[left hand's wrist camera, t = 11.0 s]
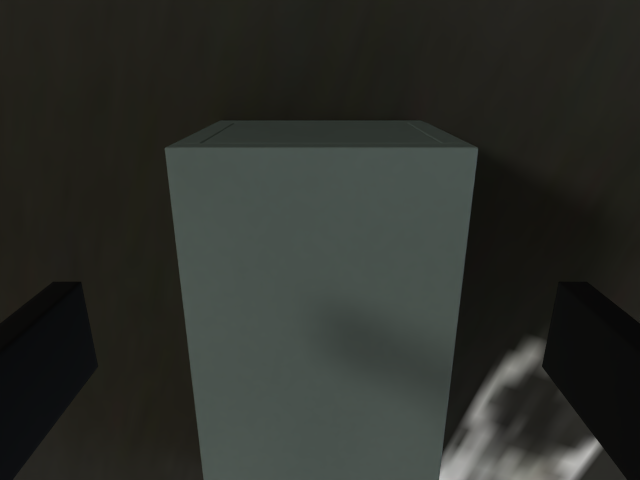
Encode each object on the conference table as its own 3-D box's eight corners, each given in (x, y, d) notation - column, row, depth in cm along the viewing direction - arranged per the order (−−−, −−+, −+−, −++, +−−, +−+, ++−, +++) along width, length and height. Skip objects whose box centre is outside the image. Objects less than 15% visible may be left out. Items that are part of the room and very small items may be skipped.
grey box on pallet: (403, 376, 32) (436, 500, 23) (238, 376, 32) (205, 500, 23) (422, 120, 26) (478, 147, 17) (219, 120, 26) (164, 147, 17)
